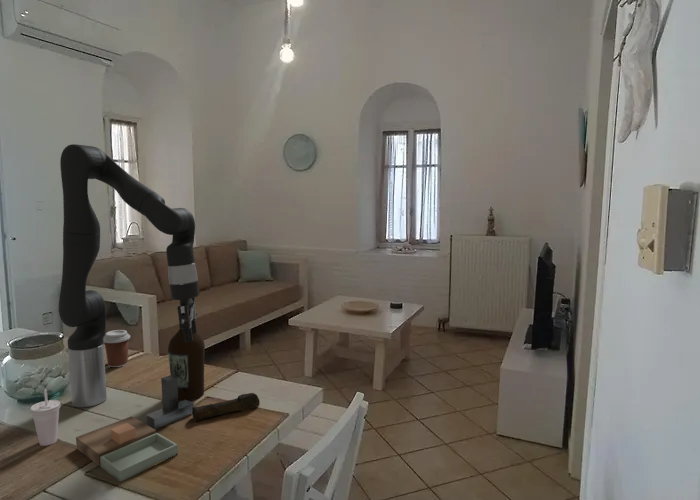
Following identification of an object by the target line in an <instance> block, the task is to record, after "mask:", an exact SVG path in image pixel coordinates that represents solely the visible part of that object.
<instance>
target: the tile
mask: <svg viewBox="0 0 700 500" xmlns="http://www.w3.org/2000/svg"><path fill="white" fill-rule="evenodd" d="M134 438H136V431H135V427H133V426H131V425H130V424H128V423H126V424H123V425H120V426H118V427H115V428H113V429H111V439H112V440H114V441H115V442H117V443H118V444H122V443H124V442H126V441H129V440H131V439H134Z"/></svg>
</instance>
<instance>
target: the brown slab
mask: <svg viewBox="0 0 700 500" xmlns="http://www.w3.org/2000/svg"><path fill="white" fill-rule="evenodd" d="M126 423H128V424H130V425H131V426H133V427H135V431H136V438H134V439H131V440H129V441H126V442H124V443H122V444H118V443H117V442H115V441H114V440H112V439H111V429H113V428H115V427H118V426H120V425H123V424H126ZM155 433H157V429H153V428H151V427H150V426H148V425H147V423H144V422H142V421H140V419H137V418H136V417H135V416H132V415H131V416H129V417H126V418H123V419H120V420H118V421H115V422H113V423H109V424H107V425H104V426H102V427H99V428H97V429H95V430H91V431H89V432H86V433H83V434H80V435H78V436H75V443H76V450H77V451H79V452H80V453H81V454H83V455H84V456H86V457H87V458H88V459H89V460H91V461H92V462H94V463H95V464H96V465H97V466H98V467H101V462H100V457H101V456H104V455H106V454H108V453H111V452H113V451H115V450H118V449H120V448H122V447H125V446H127V445H129V444H132V443H134V442H136V441H139V440H141V439H144V438H146V437H148V436H151V435H153V434H155Z"/></svg>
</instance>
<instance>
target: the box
mask: <svg viewBox="0 0 700 500" xmlns="http://www.w3.org/2000/svg"><path fill="white" fill-rule="evenodd" d="M178 445H179V444H177V443H176V442H174V441H172V440H170V439H169V438H167V437H166V436H164V435H162V434H160V433H158V432H156V433H155V434H153V435H151V436H148V437H146V438H144V439H141V440H139V441H136V442H134V443H132V444H129V445H127V446H125V447H122V448H120V449H118V450H115V451H113V452H111V453H108V454H106V455H104V456H101V457H100V462H101V466H100V468H101V469H102V470H104V471H105V472H107V473H108V474H109V475H110V476H112V477H113V478H114V479H115V480H116V481H118V482H123V481H126V480H127V479H130V478H131V477H134V476H136V475H138V474H140V473H143V472H145V471H146V470H148V469H149V468H148V467H150V466H152V465H154V464H156V463H158V462H160V461H163V460H165V459H167V460H169V459H171V458H173V457H175V456H177V455H176V454H178V455H179V448H178ZM172 456H173V457H172ZM170 457H171V458H170ZM168 458H169V459H168ZM165 461H166V460H165ZM163 462H164V461H163ZM147 468H148V469H147ZM145 469H146V470H145Z"/></svg>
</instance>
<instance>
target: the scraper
mask: <svg viewBox="0 0 700 500" xmlns="http://www.w3.org/2000/svg"><path fill="white" fill-rule="evenodd" d="M160 380H161V381H160V382H161V398H162V399H161V401H162V402H161V403H162V408H160V409H158V410H155V411H153V412H152V411H151V412H150V413H147V414H146V415H145V416H146V418H145V419H146V425H148V426H150V427H151V428H153V429H155V430H157V429H160V428H162V427H165V426H167V425H169V424H171V422H172V423H174V422H176V421H179V420H181V419H183V417H184V418H186V417H188V416H190V415H189V414H191V413H192V408H193V407H195V403H194V402H192V401H191V400H189V401H188V400H183V401H179V400H178V381H177V377H175V376H173V375H170V374H169V375H167V376H164V377H161V379H160ZM187 415H188V416H187ZM191 415H192V414H191ZM185 416H186V417H185ZM180 418H181V419H180ZM178 419H179V420H178ZM168 423H169V424H168ZM166 424H167V425H166Z"/></svg>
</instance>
